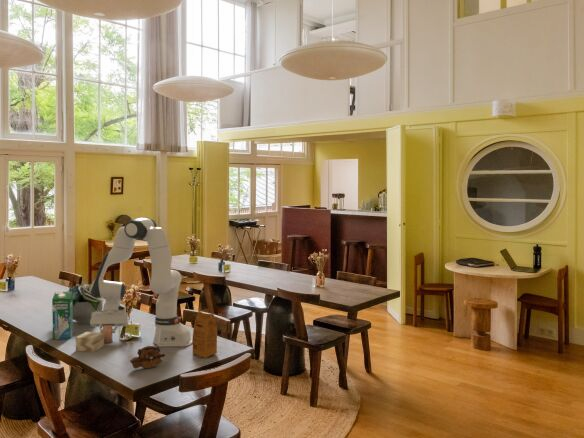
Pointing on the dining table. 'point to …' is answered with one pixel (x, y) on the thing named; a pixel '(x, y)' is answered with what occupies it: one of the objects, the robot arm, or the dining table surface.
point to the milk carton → (62, 315)
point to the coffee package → (204, 335)
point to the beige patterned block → (89, 341)
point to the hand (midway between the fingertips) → (107, 332)
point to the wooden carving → (147, 357)
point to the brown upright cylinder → (107, 333)
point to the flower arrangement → (84, 303)
